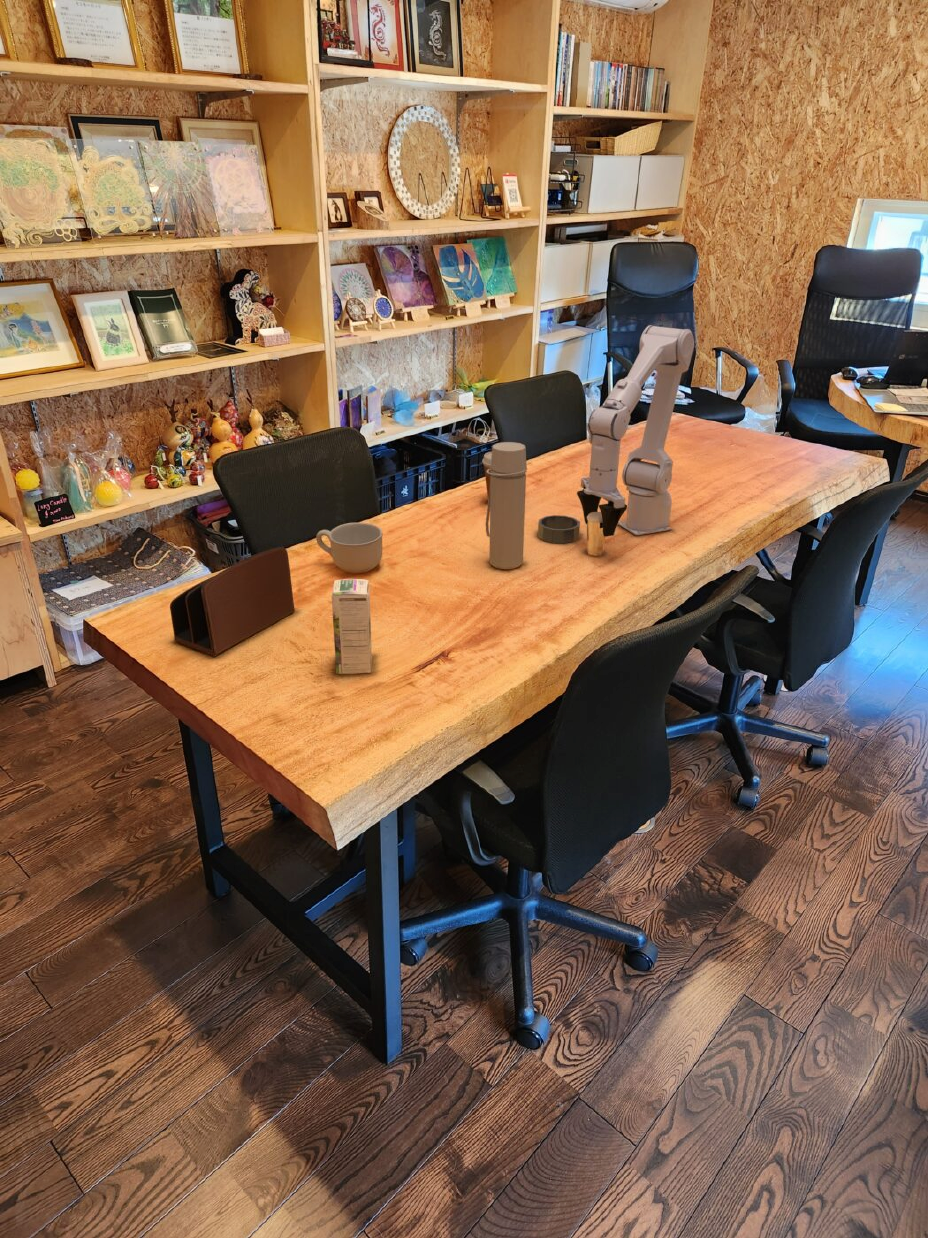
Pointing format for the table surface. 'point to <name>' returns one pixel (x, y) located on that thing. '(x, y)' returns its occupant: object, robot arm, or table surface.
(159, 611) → the table surface
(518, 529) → the water bottle
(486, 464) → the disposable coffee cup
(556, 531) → the brown hollow ring
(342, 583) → the syrup box
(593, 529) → the milkshake
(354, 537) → the teacup
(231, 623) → the letter holder
